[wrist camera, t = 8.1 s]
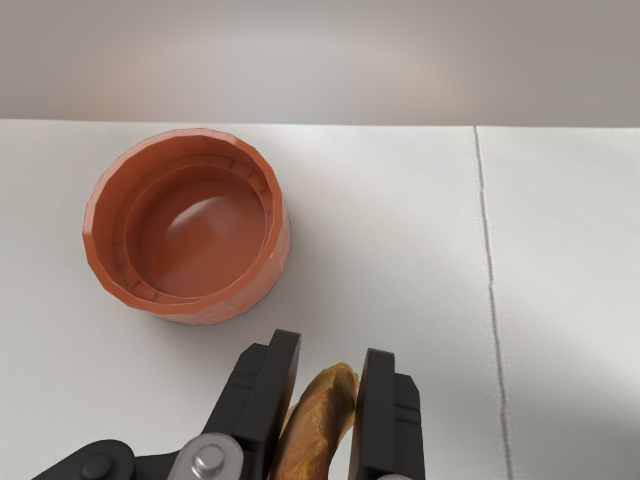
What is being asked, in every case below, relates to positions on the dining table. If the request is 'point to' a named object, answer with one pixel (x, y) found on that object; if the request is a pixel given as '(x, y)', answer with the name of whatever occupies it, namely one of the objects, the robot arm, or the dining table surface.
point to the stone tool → (316, 426)
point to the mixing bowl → (188, 227)
